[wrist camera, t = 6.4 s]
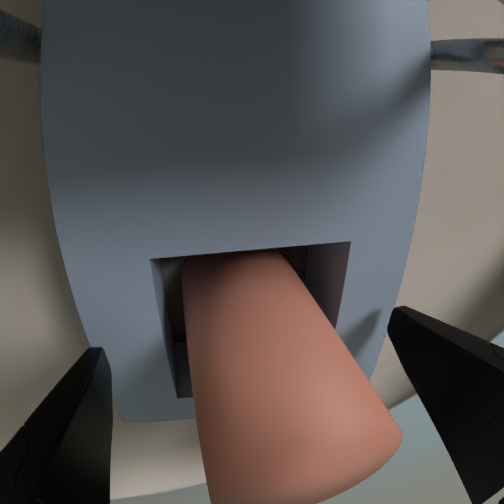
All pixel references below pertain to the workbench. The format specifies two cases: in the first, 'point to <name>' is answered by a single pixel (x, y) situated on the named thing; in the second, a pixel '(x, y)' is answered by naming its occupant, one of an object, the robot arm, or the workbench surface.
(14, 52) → the awning
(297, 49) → the socket board
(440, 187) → the workbench surface
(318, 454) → the peg
